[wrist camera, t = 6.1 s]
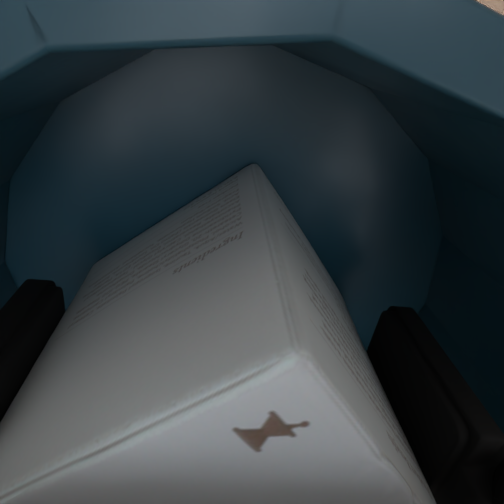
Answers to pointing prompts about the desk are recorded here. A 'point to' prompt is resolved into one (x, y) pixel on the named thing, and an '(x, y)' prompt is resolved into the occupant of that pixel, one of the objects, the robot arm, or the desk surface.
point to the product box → (208, 375)
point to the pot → (269, 144)
